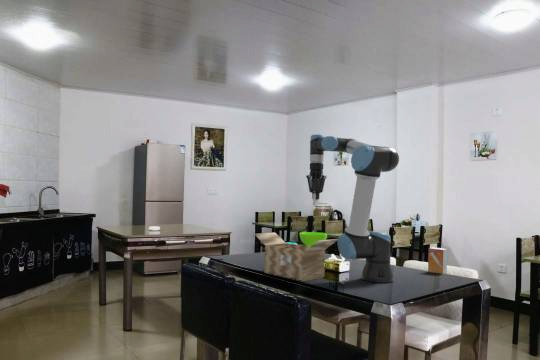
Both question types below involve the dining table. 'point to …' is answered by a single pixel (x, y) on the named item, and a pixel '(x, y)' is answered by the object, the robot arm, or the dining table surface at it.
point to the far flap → (269, 238)
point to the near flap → (321, 245)
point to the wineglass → (312, 237)
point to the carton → (294, 261)
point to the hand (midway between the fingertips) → (315, 205)
